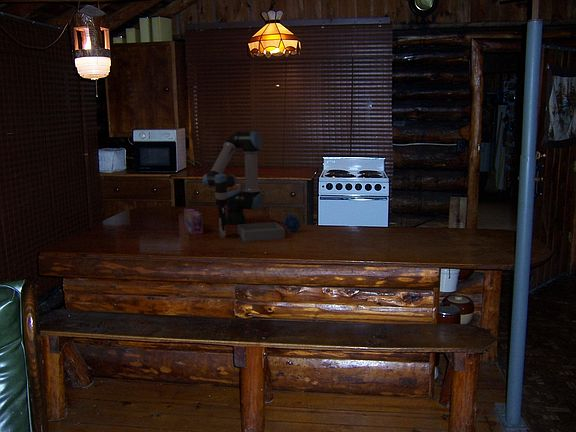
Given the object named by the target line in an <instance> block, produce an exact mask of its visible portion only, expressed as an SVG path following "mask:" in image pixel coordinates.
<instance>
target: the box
mask: <svg viewBox="0 0 576 432" xmlns="http://www.w3.org/2000/svg"><path fill="white" fill-rule="evenodd" d="M285 231H286V228H284V227H283V226H282V225H280V224H279V223H277V221H273V222H258V223H244V224H237V234H238V235H239V237H240V238H241V239H242V240H243V242H257V241H269V240H270V241H271V240H282V239H283V240H285V238H286V234H285V233H286V232H285Z"/></svg>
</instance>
